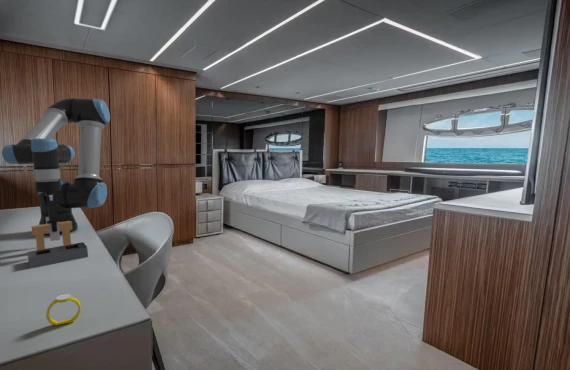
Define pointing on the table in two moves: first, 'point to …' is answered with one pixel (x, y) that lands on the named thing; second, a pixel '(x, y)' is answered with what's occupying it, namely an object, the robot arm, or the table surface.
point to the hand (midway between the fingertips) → (53, 236)
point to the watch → (59, 300)
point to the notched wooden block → (44, 229)
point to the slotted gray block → (57, 254)
